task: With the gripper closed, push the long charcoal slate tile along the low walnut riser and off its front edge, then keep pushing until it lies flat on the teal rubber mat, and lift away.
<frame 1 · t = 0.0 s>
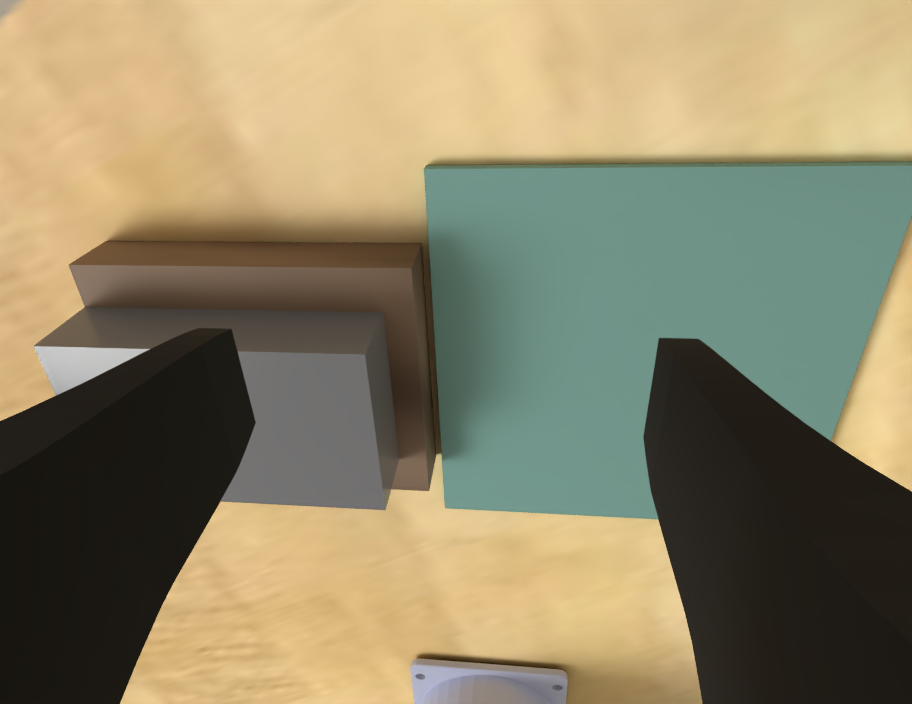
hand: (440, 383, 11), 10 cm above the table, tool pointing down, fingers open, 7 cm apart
walnut riser: (283, 356, 23), on the table
slate tile: (249, 386, 21), point 2 cm above the table, touching walnut riser
teal mat: (635, 365, 22), on the table
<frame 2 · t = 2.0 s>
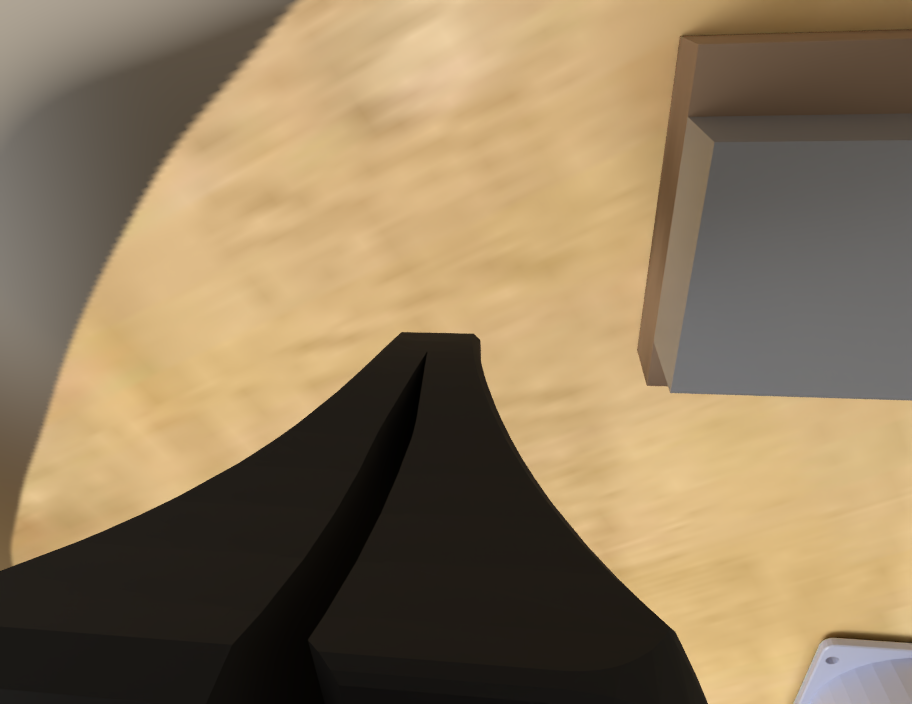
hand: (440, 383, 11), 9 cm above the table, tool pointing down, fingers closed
walnut riser: (863, 214, 17), on the table
slate tile: (877, 241, 15), point 2 cm above the table, touching walnut riser
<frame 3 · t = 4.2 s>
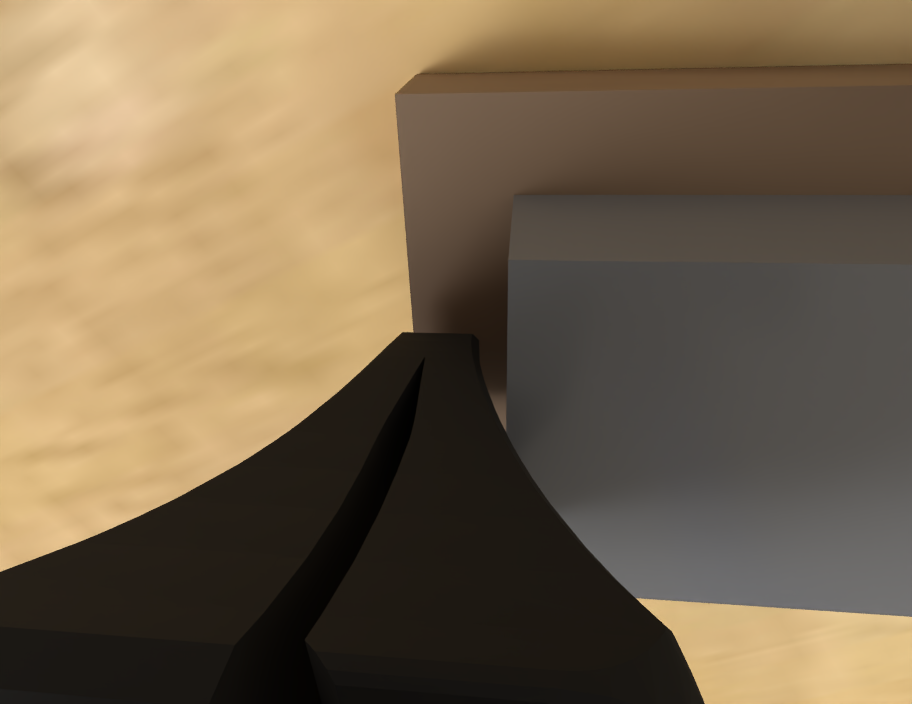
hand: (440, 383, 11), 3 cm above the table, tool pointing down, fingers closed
walnut riser: (704, 313, 12), on the table
slate tile: (806, 369, 11), point 2 cm above the table, touching gripper, walnut riser
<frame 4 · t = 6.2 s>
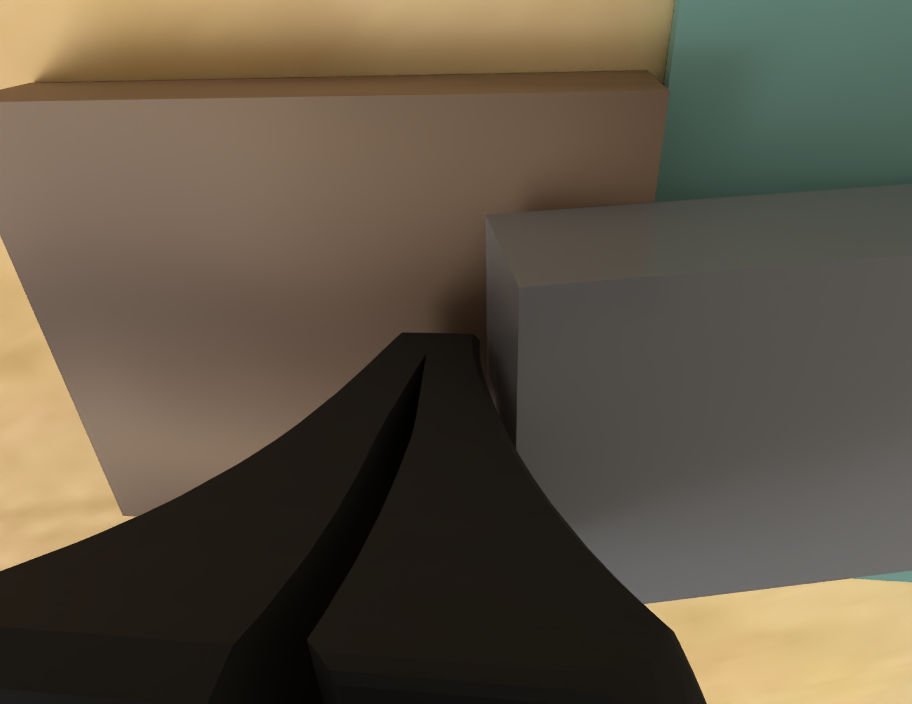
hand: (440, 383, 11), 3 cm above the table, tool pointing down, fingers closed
walnut riser: (352, 307, 13), on the table
slate tile: (764, 357, 11), point 1 cm above the table, tilted 12°, touching gripper, walnut riser
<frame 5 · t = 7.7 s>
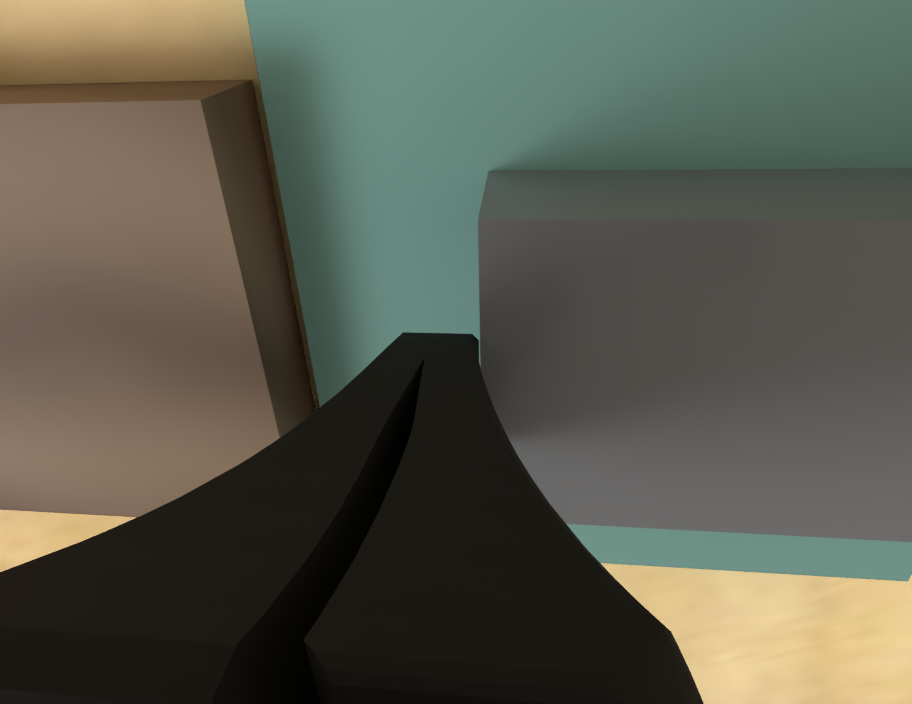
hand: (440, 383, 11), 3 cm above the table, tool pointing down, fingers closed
walnut riser: (57, 302, 14), on the table
slate tile: (748, 325, 12), resting on teal mat, touching gripper
teal mat: (645, 313, 13), on the table
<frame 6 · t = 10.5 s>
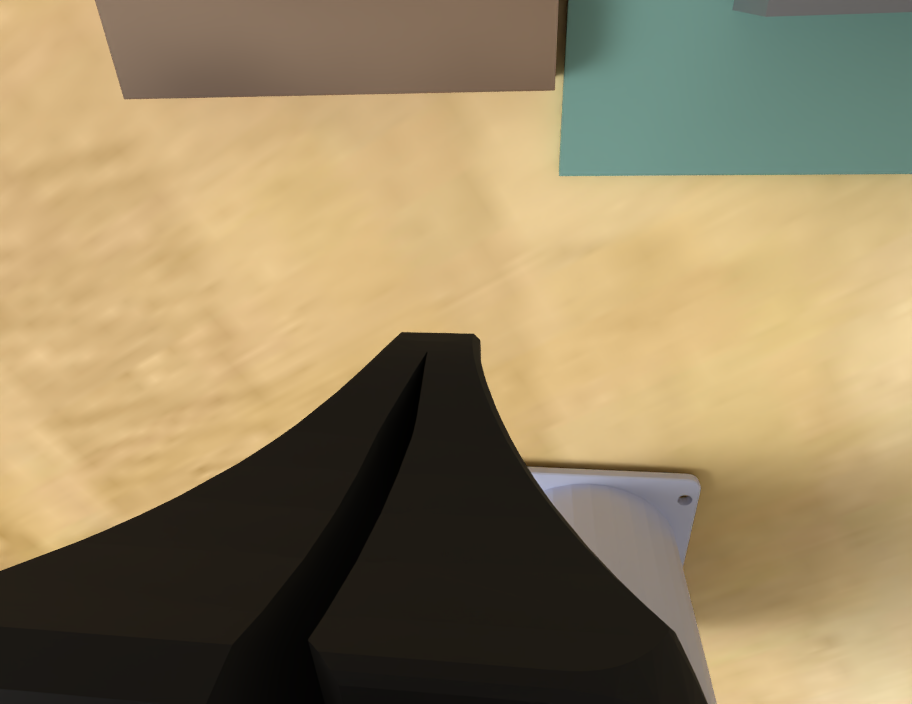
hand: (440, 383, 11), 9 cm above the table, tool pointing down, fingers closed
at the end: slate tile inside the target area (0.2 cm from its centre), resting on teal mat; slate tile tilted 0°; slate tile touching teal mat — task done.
